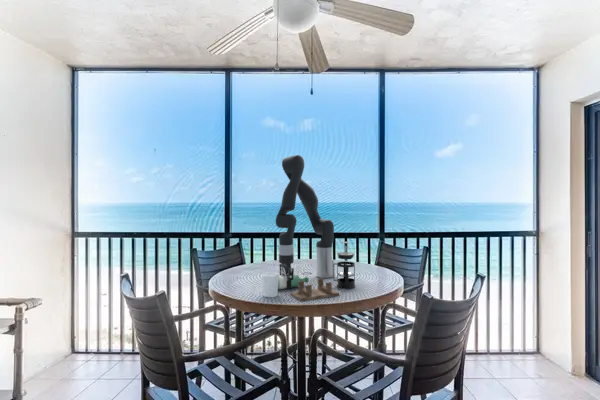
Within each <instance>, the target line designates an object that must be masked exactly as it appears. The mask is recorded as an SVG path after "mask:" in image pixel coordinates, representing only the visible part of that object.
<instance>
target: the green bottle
mask: <svg viewBox="0 0 600 400" xmlns="http://www.w3.org/2000/svg"><path fill="white" fill-rule="evenodd" d="M291 277H292V276H291ZM309 280H310V279H309V276H304V277H300V276H299V275H298V274H294V276H293V280H291V288H299V281H304V284H308V283H309V282H310V281H309ZM291 288H290V289H291ZM283 289H288V288H287V279H286V276H279V281H278V290H283Z"/></svg>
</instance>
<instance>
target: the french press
mask: <svg viewBox="0 0 600 400" xmlns="http://www.w3.org/2000/svg"><path fill="white" fill-rule="evenodd" d="M341 243H342V244H344V246H345V250H344V252H337V253H336V254H337V258H338V259H339V260H352V259H354V256H355V254H356V253H354V252H349V251H347V244H350V243H351V242H349V241H341ZM355 264H356V263H355V262H353V261H338V262H336V263H335V262H334V264H333V269H334V270H335V265H336V266H337V267H336V269H337V270H336V275H337V277H336V278H337V279H333V282H336V283H337V284H336V288H339V289H345V290H348V289H349V290H350V289H355V288H356V279H355V278H356V277H355V276H356V273H355V271H356V265H355ZM339 268H343V272H339ZM349 268H353V272H350V271H349ZM339 277H340V278H339ZM350 277H351V278H350ZM352 277H353V278H352Z"/></svg>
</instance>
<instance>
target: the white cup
mask: <svg viewBox="0 0 600 400" xmlns="http://www.w3.org/2000/svg"><path fill="white" fill-rule="evenodd" d="M279 277H280V273H278V272H272V271H271V272H264V273H262V274H261V284H262V293H263V295H262V296H263V297H264V298H276V297H277V296H279V295H278V294H279V293H278V292H279V289H278V281H279Z"/></svg>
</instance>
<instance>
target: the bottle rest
mask: <svg viewBox="0 0 600 400" xmlns="http://www.w3.org/2000/svg"><path fill="white" fill-rule="evenodd" d="M332 285H333V284H332V282H331V281H328V282H325V285H324V278H317V288H312V284H306V285H305V283H304V281H299V287H298V290H297V291H291V292H290V296H292V297H294V298H295V299H296V300H298V301H300V302H303V301H310V300H317V299H324V298H331V297H338V296H340V292H339V291H336V290H335V289H333V288H332Z"/></svg>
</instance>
